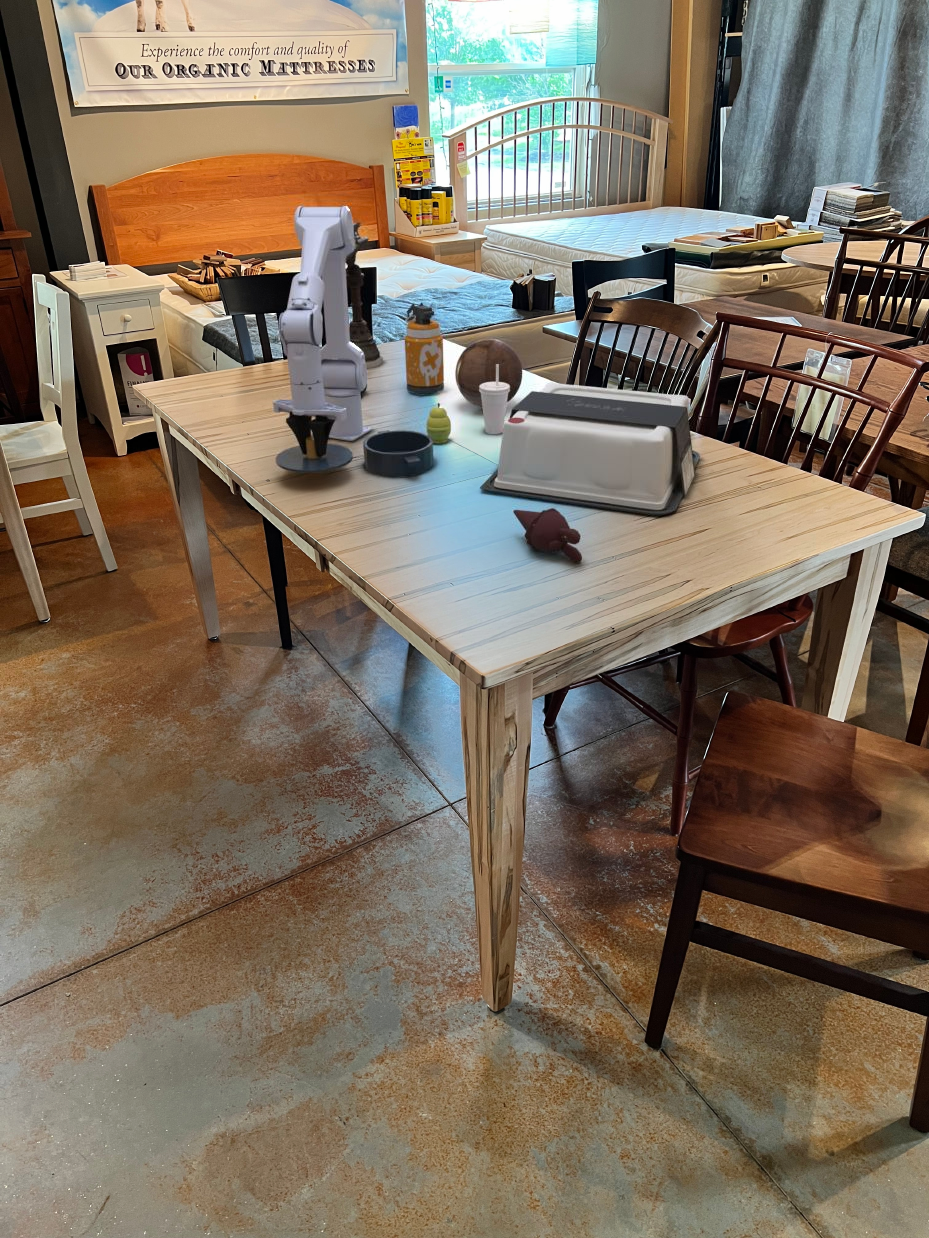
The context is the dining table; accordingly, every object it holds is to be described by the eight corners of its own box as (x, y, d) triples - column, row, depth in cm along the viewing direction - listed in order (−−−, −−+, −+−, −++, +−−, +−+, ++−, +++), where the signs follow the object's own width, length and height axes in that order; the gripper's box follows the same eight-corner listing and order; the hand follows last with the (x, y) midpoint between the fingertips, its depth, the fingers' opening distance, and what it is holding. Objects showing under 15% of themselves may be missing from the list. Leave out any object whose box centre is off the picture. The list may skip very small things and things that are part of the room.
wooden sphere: (525, 398, 203) (526, 332, 195) (517, 418, 190) (518, 349, 183) (462, 396, 205) (461, 331, 198) (450, 415, 193) (448, 347, 185)
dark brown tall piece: (334, 375, 222) (320, 226, 204) (315, 364, 232) (300, 221, 214) (392, 366, 229) (384, 221, 211) (371, 355, 239) (362, 216, 221)
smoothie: (506, 437, 180) (507, 369, 173) (476, 435, 181) (476, 368, 174) (511, 427, 185) (512, 361, 178) (482, 425, 187) (482, 360, 179)
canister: (416, 398, 204) (412, 310, 194) (397, 387, 212) (393, 301, 202) (450, 393, 208) (448, 306, 197) (430, 382, 216) (427, 298, 206)
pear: (422, 443, 178) (421, 404, 173) (433, 435, 181) (432, 398, 177) (444, 446, 176) (443, 407, 172) (455, 438, 180) (454, 400, 175)
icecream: (493, 504, 134) (559, 544, 125) (529, 482, 137) (596, 520, 128) (499, 539, 139) (563, 580, 130) (533, 516, 142) (598, 556, 132)
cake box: (477, 492, 155) (477, 424, 148) (533, 434, 181) (535, 374, 175) (674, 520, 144) (683, 448, 137) (703, 454, 170) (712, 391, 163)
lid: (285, 480, 153) (282, 456, 150) (269, 455, 164) (266, 432, 162) (362, 468, 157) (361, 445, 155) (341, 444, 169) (339, 422, 166)
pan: (381, 486, 158) (379, 463, 156) (352, 453, 173) (351, 431, 170) (448, 475, 162) (448, 452, 160) (415, 444, 177) (414, 423, 175)
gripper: (259, 381, 153) (269, 455, 160) (328, 391, 147) (335, 467, 154) (282, 372, 158) (291, 443, 165) (350, 380, 153) (356, 454, 160)
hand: (314, 454), depth 160 cm, fingers closed on lid, 2 cm apart
